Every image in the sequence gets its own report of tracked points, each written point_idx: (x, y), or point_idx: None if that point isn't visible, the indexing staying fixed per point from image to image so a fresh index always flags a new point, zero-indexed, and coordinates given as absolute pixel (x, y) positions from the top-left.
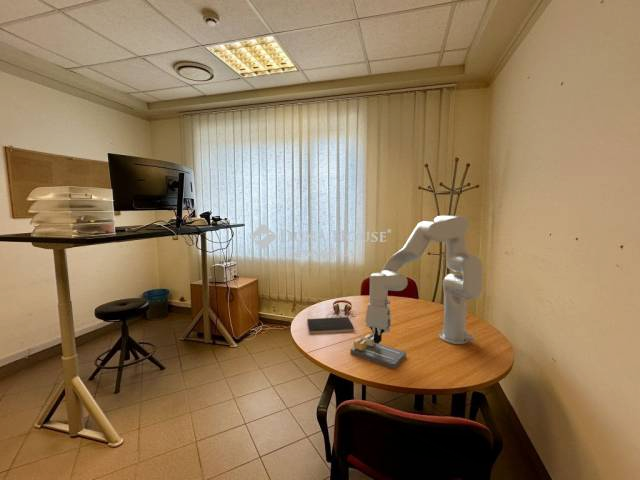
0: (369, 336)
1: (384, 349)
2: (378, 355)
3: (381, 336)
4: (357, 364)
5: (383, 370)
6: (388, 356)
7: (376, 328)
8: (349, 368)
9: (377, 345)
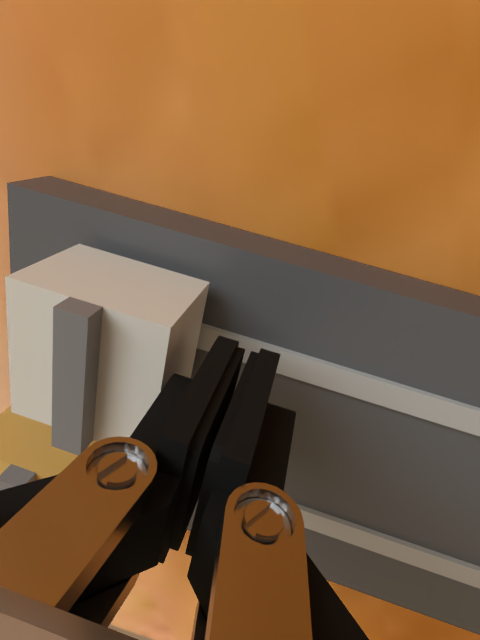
0: (72, 420)
1: (359, 395)
2: (307, 525)
3: (285, 465)
4: (166, 558)
5: (379, 603)
6: (424, 527)
7: (84, 554)
8: (138, 599)
9: (243, 315)
